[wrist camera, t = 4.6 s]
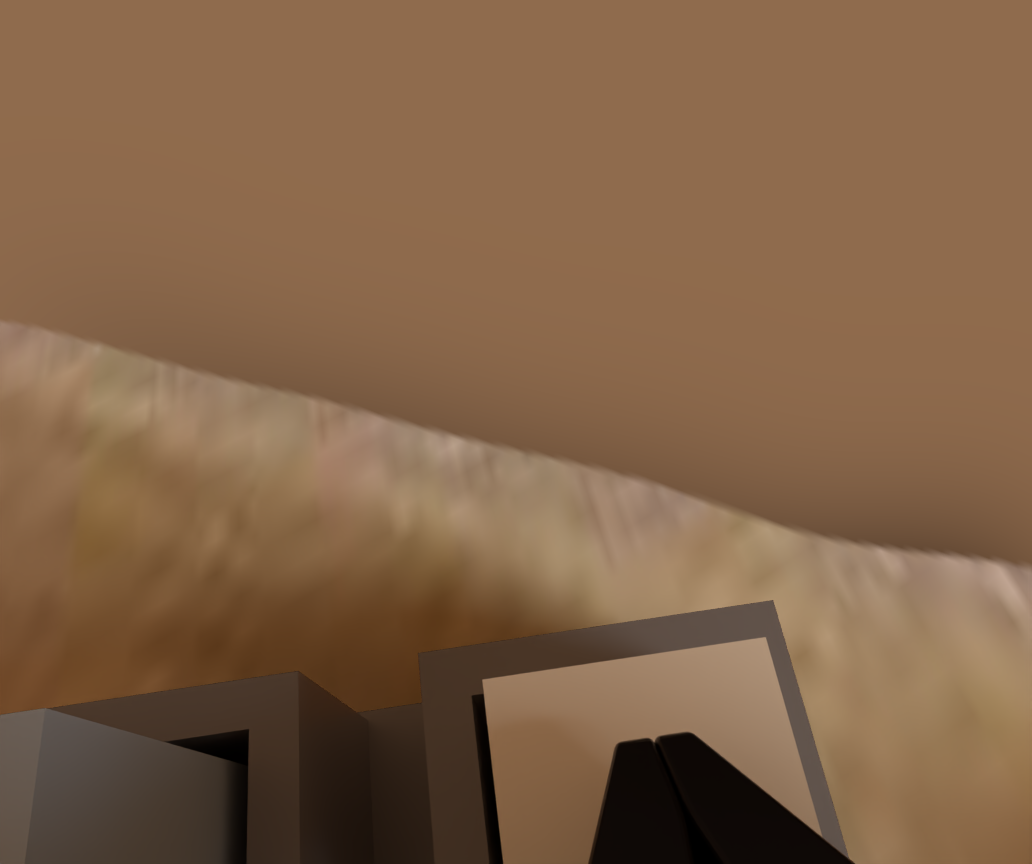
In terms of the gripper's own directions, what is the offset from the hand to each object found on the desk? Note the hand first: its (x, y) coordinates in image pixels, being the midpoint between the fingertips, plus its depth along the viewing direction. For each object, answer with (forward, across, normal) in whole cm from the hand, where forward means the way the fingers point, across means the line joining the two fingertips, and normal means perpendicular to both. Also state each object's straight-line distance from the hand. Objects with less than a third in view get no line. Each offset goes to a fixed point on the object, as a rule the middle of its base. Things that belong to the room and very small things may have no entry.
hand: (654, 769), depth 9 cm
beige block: (+5, 0, +6) cm, 8 cm away
